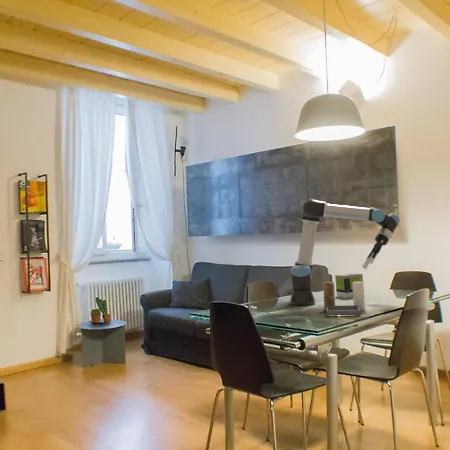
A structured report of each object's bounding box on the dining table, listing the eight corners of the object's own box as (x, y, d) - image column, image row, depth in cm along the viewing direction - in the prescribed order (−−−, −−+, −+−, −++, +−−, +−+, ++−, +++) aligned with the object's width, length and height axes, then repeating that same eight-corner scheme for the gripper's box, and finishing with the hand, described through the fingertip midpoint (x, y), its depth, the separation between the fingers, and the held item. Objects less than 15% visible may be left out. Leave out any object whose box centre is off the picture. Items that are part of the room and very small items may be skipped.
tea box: (355, 294, 336) (354, 272, 336) (364, 296, 326) (363, 273, 327) (336, 296, 330) (335, 274, 331) (344, 298, 321) (343, 275, 321)
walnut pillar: (324, 309, 279) (323, 283, 280) (324, 308, 285) (323, 282, 286) (335, 309, 278) (334, 282, 279) (335, 308, 284) (333, 281, 284)
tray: (326, 316, 258) (326, 310, 258) (326, 311, 275) (326, 305, 275) (360, 316, 255) (360, 310, 255) (358, 310, 272) (357, 305, 272)
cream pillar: (354, 310, 275) (352, 282, 275) (353, 308, 280) (352, 281, 281) (365, 310, 273) (364, 282, 274) (364, 308, 279) (363, 281, 279)
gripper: (395, 234, 291) (378, 263, 286) (382, 245, 315) (367, 273, 310) (383, 227, 293) (366, 256, 287) (372, 239, 317) (356, 266, 311)
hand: (366, 265), depth 299 cm, fingers open, 13 cm apart
